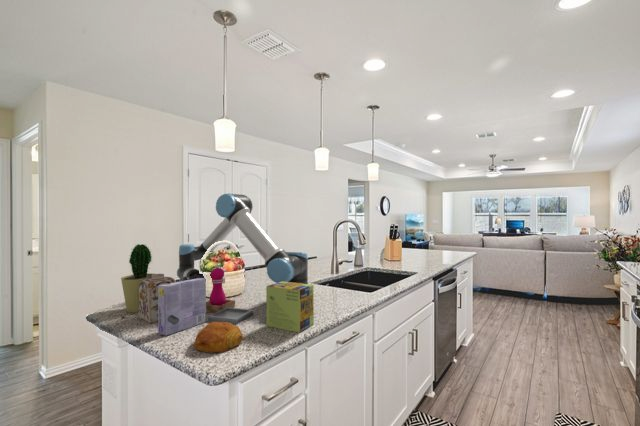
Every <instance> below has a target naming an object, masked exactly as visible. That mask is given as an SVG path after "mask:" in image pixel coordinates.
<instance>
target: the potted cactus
mask: <svg viewBox="0 0 640 426" xmlns="http://www.w3.org/2000/svg"><path fill="white" fill-rule="evenodd" d="M131 250H132V251H131V252H130V255H129V259H128V260H129V261H128V264H130V266H129V267H130V268H131V272H132V274H129V275H125V276H122V277H121V278H120V279H121V285H122V291H123V297H124V301H125V308H126V312H127V311H128V313H139V285H140V283H141V282H142V281H143V280H145V279H148V278H152V275H153V274H154V273H150V272H149V271H148V269H151V268H150V267H149V266H150V264H152V263H153V260H152V259H153V256H152V250H151V249H150V248H149V247H148V246H147V244H146V243H145V244H140V243H139V244H138V243H137V244H135V245H134V247H133V248H131ZM153 264H154V263H153Z"/></svg>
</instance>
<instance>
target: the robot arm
mask: <svg viewBox="0 0 640 426" xmlns="http://www.w3.org/2000/svg"><path fill="white" fill-rule="evenodd" d="M253 209H254V208H253V202H252V200H251V198H250V197H249V196H247V195H246V194H239V193H238V194H237V193H223V194H221V195H220V196H219V197H218V198H217V200H216V202H215V211H216V213H217V215H218V216H220V217H221V218H224V219H223V220H222V221H221V222H220V223H219V224H218V226H217V227H216V228H215V229H214V230H213V231H212V232H211V233H210V234H209V235H208V236H207V237H206V239H205V240H203V242H202V243H201V244H200V245H197V246H195V245H194V244H191V243H190V244H189V243H187V244H180V245H179V247H178V248H179V249H178V262H179V265H178V268H177V271H176V276H177V277H178V278H179V279H180V280H181V281H186V280H192V279H197V278H204V276H203V274H204V273H203V274H199V270H200V269H197V268H195V261H199V260H200V261H201V260H202V259H201V258H202V257H203V255H204V254H205V252H206V251H207V249H208V248H209V247H210V246H211V245H212V244H214V243H215V242H218V241H222V242H223V241H224V240H225V239H226V238H227V237H228V235H229V234H231V232H233V230H234V229H235V228H236V227H237V228H238V229H239V230H240V231H241V233H242V234H243V235H244V236H245V238H246V239H247V241H248V242H249V243H250V244H251V245H252V247H253V248H254V249H255V250H256V251H257V252H258V253H259V255H260V256H261V257H262V258H263V260H264V267H266V274H267V276H268V278H269V279H270V281H272V282H274V283H279V282H292V283H302V284H309V280H308V275H309V272H308V271H309V270H308V269H309V267H308V265H309V263H308V262H309V258H308V253H306V252H298V251H285V249H283V248H279V247H278V246H277V244H276V243H275V242H274V241H273V239H271V237H270V236H269V235H268V234H267V233H266V231H265V230H264V229H263V228H262V227H261V225H260V224H259V223H258V222H257V220H255V218H254V217H253V216H252V215H251V213H252V211H253ZM219 245H220V244H218V245H216V246H215V247H213V248H212V249H211V251H210V252H214V251H215V250H216V248H217V247H218V246H219ZM214 253H215V252H214ZM222 279H223V282H222V285H223V284H226V277H225V276H224V277H223V278H222Z"/></svg>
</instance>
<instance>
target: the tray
mask: <svg viewBox="0 0 640 426" xmlns="http://www.w3.org/2000/svg"><path fill="white" fill-rule="evenodd" d="M253 315H254V310H253V309H248V308H236V307H233V308H229V307H227V308H224V309H222V310H220V311H218V312H216V313H211V314H210V315H207V321H208V322H209V323H211V322H228V323H231V324H233V325H238V324H240V323H241V322H243V321H245V320H247V319H248V318H249V317H252V316H253Z"/></svg>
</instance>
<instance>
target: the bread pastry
mask: <svg viewBox="0 0 640 426" xmlns="http://www.w3.org/2000/svg"><path fill="white" fill-rule="evenodd" d="M243 337H244V336H243V332H242V331H241V329H240V327H239V326H238V325H237V324H231V323H228V322H208V324H206V325H205V326H204V327H202V328H201V329H199V331H198V332H197V334H196V336H195V340H194V341H193V342H194V343H193V345H194V349H195V350H198V351H200V352H205V353H218V352H219V353H224V352H225V351H228V350H229V349H233V348H234V347H236V346H238V345H240V344H241V343H242V341H243Z"/></svg>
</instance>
